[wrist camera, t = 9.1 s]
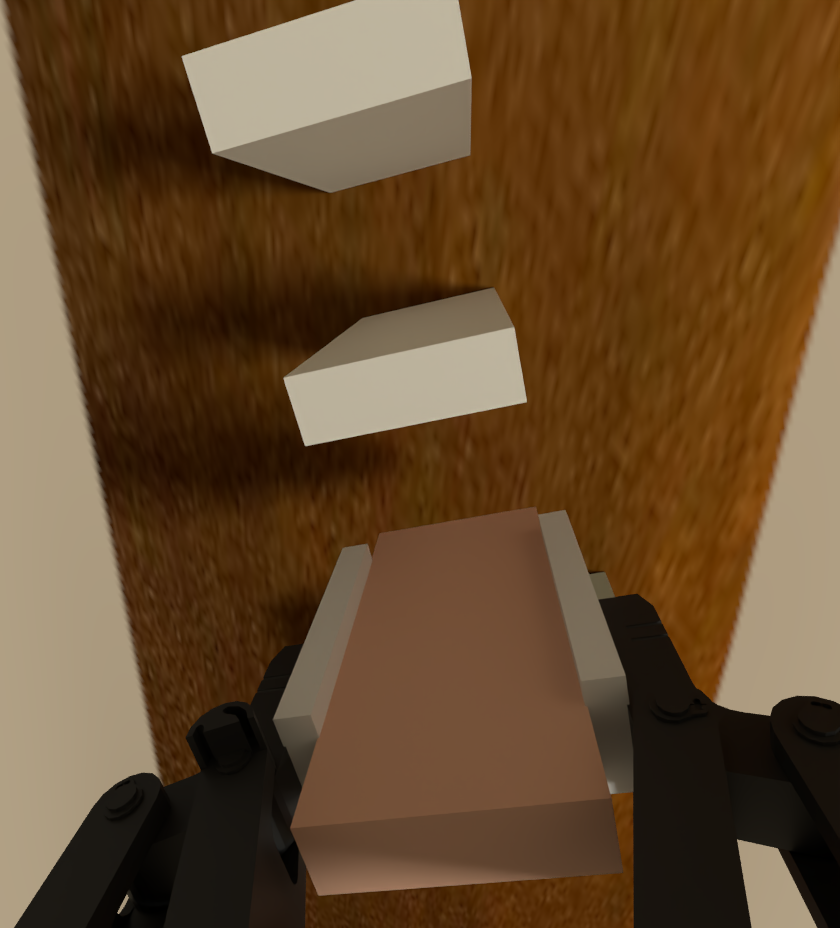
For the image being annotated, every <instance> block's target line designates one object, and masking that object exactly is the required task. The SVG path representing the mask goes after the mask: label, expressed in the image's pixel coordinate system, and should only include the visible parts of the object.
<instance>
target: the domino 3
mask: <svg viewBox="0 0 840 928" xmlns="http://www.w3.org/2000/svg"><path fill="white" fill-rule="evenodd" d="M290 829H291V832H292V834H293V836H294V839H295V841H296V844H297V846H298V848H299V851H300V853H301V855H302V858H303V860H304V862H305V865H306V867H307V869H308V872H309V874H310V876H311V879H312V881H313V884H314V886H315V888H316V891H317V893H318V895H332V894H346V893H359V892H372V891H386V890H399V889H412V888H426V887H439V886H452V885H466V884H479V883H492V882H506V881H519V880H532V879H545V878H559V877H572V876H585V875H599V874H612V873H623V869H622V862H621V856H620V850H619V843H618V837H617V831H616V824H615V818H614V812H613V805H612V799H611V795H610V791H609V787H608V783H607V779H606V776H605V772H604V768H603V764H602V760H601V756H600V752H599V749H598V745H597V741H596V737H595V733H594V729H593V725H592V722H591V718H590V714H589V710H588V706H585V704H584V700H583V696H582V692H581V688H580V684H579V680H578V676H577V672H576V668H575V664H574V660H573V656H572V652H571V648H570V644H569V640H568V636H567V632H566V628H565V624H564V620H563V616H562V613H561V609H560V605H559V601H558V597H557V593H556V589H555V585H554V581H553V577H552V573H551V569H550V565H549V561H548V557H547V553H546V549H545V545H544V541H543V537H542V533H541V528H540V522H539V517H538V514H537V510H536V507H531V508H525V509H519V510H513V511H507V512H502V513H496V514H490V515H484V516H478V517H473V518H467V519H461V520H455V521H449V522H443V523H438V524H432V525H426V526H420V527H414V528H409V529H403V530H397V531H391V532H385V533H380V534H379V537H378V540H377V544H376V547H375V550H374V554H373V557H372V564H371V567H370V570H369V574H368V577H367V580H366V584H365V587H364V590H363V594H362V597H361V600H360V604H359V607H358V610H357V614H356V617H355V620H354V624H353V627H352V630H351V634H350V637H349V640H348V644H347V647H346V650H345V654H344V657H343V660H342V664H341V667H340V670H339V674H338V677H337V680H336V684H335V687H334V690H333V694H332V697H331V700H330V704H329V707H328V710H327V714H326V717H325V720H324V723H323V727H322V730H321V733H320V737H319V738H317V741H316V745H315V748H314V751H313V754H312V758H311V761H310V764H309V768H308V771H307V774H306V778H305V781H304V784H303V787H302V791H301V794H300V797H299V801H298V804H297V807H296V811H295V814H294V817H293V820H292V824H291V827H290Z"/></svg>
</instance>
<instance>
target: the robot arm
mask: <svg viewBox="0 0 840 928" xmlns="http://www.w3.org/2000/svg"><path fill="white" fill-rule="evenodd" d="M538 517H539V522H540V528H541V533H542V537H543V541H544V545H545V549H546V553H547V557H548V561H549V565H550V569H551V573H552V577H553V581H554V585H555V589H556V593H557V597H558V601H559V605H560V609H561V613H562V616H563V620H564V624H565V628H566V632H567V636H568V640H569V644H570V648H571V652H572V656H573V660H574V664H575V668H576V672H577V676H578V680H579V684H580V688H581V692H582V696H583V700H584V704H585V706H588V710H589V714H590V718H591V722H592V725H593V729H594V733H595V737H596V741H597V745H598V749H599V752H600V756H601V760H602V764H603V768H604V772H605V776H606V779H607V783H608V787H609V791H610V794H616V793H626V792H633V833H634V928H751V922H750V916H749V910H748V904H747V898H746V891H745V886H744V880H743V873H742V867H741V861H740V856H739V850H738V843H737V839H738V840H743V841H747V842H752V843H756V844H761V845H766V846H770V847H775V848H778V849H779V852H780V854H781V856H782V858H783V860H784V861H785V864H786V866H787V867H788V869H789V871H790V874H791V875H792V877H793V880H794V881H795V884H796V885H797V888H798V890H799V892H800V893H801V896H802V898H803V900H804V902H805V904H806V906H807V908H808V909H809V912H810V914H811V916H812V918H813V920H814V921H815V924H816V926H817V928H840V704H838V703H836V702H834V701H831V700H827V699H823V698H819V697H815V696H795V697H791V698H788V699H784V700H782V701H780V702H779V703H778V704H777V705H775V706H774V707H773V709H772V712H771V716H766V715H759V714H751V713H744V712H739V711H734V710H729V709H727V708H724V707H722V706H719V705H717V704H715V703H713V702H712V701H711V700H710V699H709V698H708V697H707V696H706V695H705V694H704V693H703V692H702V691H701V690H699V689H697V688H696V687H695V686H694V684H693V683H692V681H691V679H690V677H689V675H688V673H687V671H686V669H685V667H684V665H683V663H682V661H681V659H680V657H679V655H678V653H677V651H676V650H675V648H674V646H673V644H672V642H671V640H670V638H669V637H668V634H667V632H666V630H665V628H664V626H663V624H662V623H661V620H660V618H659V616H658V614H657V612H656V610H655V608H654V606H653V605H651V604H650V603H649V602H647V601H646V600H645V599H643V598H642V597H641V596H639V595H638V594H633V595H626V596H619V597H612V598H605V599H598V598H597V595H596V592H595V590H594V587H593V584H592V581H591V579H590V576H589V573H588V571H587V568H586V565H585V562H584V560H583V557H582V554H581V551H580V549H579V546H578V543H577V540H576V538H575V535H574V532H573V529H572V527H571V524H570V521H569V518H568V516H567V513H566V510H563V511H557V512H552V513H546V514H540V515H538ZM371 564H372V557H371V554H370V550H369V547H368V544H363V545H358V546H352V547H346V548H343V549H342V552H341V554H340V556H339V559H338V561H337V564H336V566H335V569H334V571H333V574H332V576H331V578H330V581H329V583H328V586H327V588H326V591H325V593H324V596H323V598H322V600H321V603H320V605H319V608H318V610H317V613H316V615H315V618H314V620H313V622H312V625H311V627H310V630H309V632H308V635H307V637H306V640H305V642H304V644H299V645H292V646H285V647H284V648H283V649H282V650H281V651H280V652H279V653H278V655H277V656H276V657H275V658H274V659H273V660H272V661H271V662H270V664H269V667H268V669H267V671H266V673H265V675H264V680H262V681H261V684H260V686H259V688H258V690H257V691H258V693H256V694H255V696H254V699H253V701H252V703H251V705H249V704H248V703H245V702H239V701H235V702H230V703H225V704H222V705H220V706H218V707H215V708H213V709H211V710H210V711H209V712H207V713H206V714H204V715H203V716H201V717H200V718H199V719H198V720H197V721H196V722H195V724H194V725H193V726H192V727H191V728H190V730H189V732H188V734H187V736H186V739H187V742H188V744H189V746H190V748H191V750H192V752H193V754H194V756H195V758H196V760H197V763H198V765H199V767H200V769H201V772H200V773H198V774H196V775H194V776H191V777H189V778H186V779H183V780H181V781H178V782H176V783H173V784H170V785H168V786H165V787H163V785H162V783H161V781H160V779H159V778H158V777H157V776H155V775H154V774H153V773H140V774H136V775H133V776H130V777H128V778H126V779H124V780H122V781H120V782H118V783H117V784H115V785H114V786H113V787H112V788H110V789H109V790H108V791H107V792H106V793H104V794H103V795H102V797H101V798H100V799H99V800H98V801H97V803H96V804H95V805H94V806H93V808H92V809H91V811H90V812H89V814H88V815H87V817H86V818H85V820H84V821H83V823H82V825H81V826H80V828H79V829H78V831H77V832H76V834H75V835H74V837H73V838H72V840H71V841H70V843H69V845H68V846H67V848H66V849H65V851H64V852H63V854H62V855H61V857H60V858H59V860H58V861H57V863H56V865H55V866H54V867H53V869H52V870H51V872H50V874H49V875H48V877H47V878H46V880H45V881H44V883H43V884H42V886H41V887H40V889H39V890H38V892H37V893H36V895H35V897H34V898H33V900H32V901H31V903H30V904H29V906H28V907H27V909H26V910H25V912H24V913H23V915H22V917H21V918H20V919H19V921H18V923H17V924H16V926H15V927H14V928H305V893H306V865H305V862H304V860H303V858H302V855H301V853H300V851H299V848H298V846H297V844H296V841H295V839H294V836H293V834H292V832H291V829H290V827H291V824H292V820H293V817H294V814H295V811H296V807H297V804H298V801H299V797H300V794H301V791H302V787H303V784H304V781H305V778H306V774H307V771H308V768H309V764H310V761H311V758H312V754H313V751H314V748H315V745H316V741H317V738H319V737H320V733H321V730H322V727H323V723H324V720H325V717H326V714H327V710H328V707H329V704H330V700H331V697H332V694H333V690H334V687H335V684H336V680H337V677H338V674H339V670H340V667H341V664H342V660H343V657H344V654H345V650H346V647H347V644H348V640H349V637H350V634H351V630H352V627H353V624H354V620H355V617H356V614H357V610H358V607H359V604H360V600H361V597H362V594H363V590H364V587H365V584H366V580H367V577H368V574H369V570H370V567H371ZM126 894H127V895H128V897H129V899H128V901H127V903H126V905H125V907H124V908H123V909H122V911H121V912H120V914H118V913H117V912H118V910H119V908H120V906H121V904H122V902H123V900H124V898H125V896H126Z"/></svg>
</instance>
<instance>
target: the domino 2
mask: <svg viewBox="0 0 840 928" xmlns="http://www.w3.org/2000/svg"><path fill="white" fill-rule="evenodd" d="M284 381H285V385H286V388H287V391H288V394H289V397H290V400H291V404H292V407H293V410H294V413H295V416H296V419H297V422H298V426H299V429H300V432H301V435H302V438H303V441H304V444H305V446H309V445H314V444H319V443H324V442H329V441H334V440H339V439H344V438H349V437H354V436H359V435H364V434H369V433H374V432H379V431H384V430H389V429H394V428H399V427H404V426H409V425H415V424H420V423H425V422H430V421H435V420H440V419H445V418H450V417H455V416H460V415H465V414H470V413H475V412H480V411H485V410H490V409H495V408H500V407H505V406H510V405H515V404H520V403H525V402H527V400H526V394H525V388H524V382H523V376H522V370H521V365H520V359H519V353H518V347H517V341H516V335H515V329H514V326H513V324H512V322H511V320H510V318H509V316H508V314H507V312H506V310H505V308H504V306H503V304H502V302H501V300H500V298H499V297H498V295H497V293H496V291H495V289H494V288H489V289H485V290H481V291H477V292H472V293H468V294H464V295H459V296H455V297H451V298H446V299H442V300H438V301H433V302H429V303H425V304H421V305H416V306H412V307H408V308H403V309H399V310H395V311H390V312H386V313H382V314H377V315H373V316H369V317H365V318H362V319H360V320H359V321H358V322H357V323H355V324H354V325H353V326H351V327H350V328H349V329H347V330H346V331H345V332H343V333H342V334H341V335H339V336H338V337H337V338H335V339H334V340H333V341H331V342H330V343H329V344H327V345H326V346H325V347H323V348H322V349H321V350H320V351H318V352H317V353H316V354H314V355H313V356H312V357H310V358H309V359H308V360H306V361H305V362H304V363H302V364H301V365H300V366H298V367H297V368H296V369H294V370H293V371H292V372H290V373H289V374H288V375H286V376H285V377H284Z"/></svg>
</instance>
